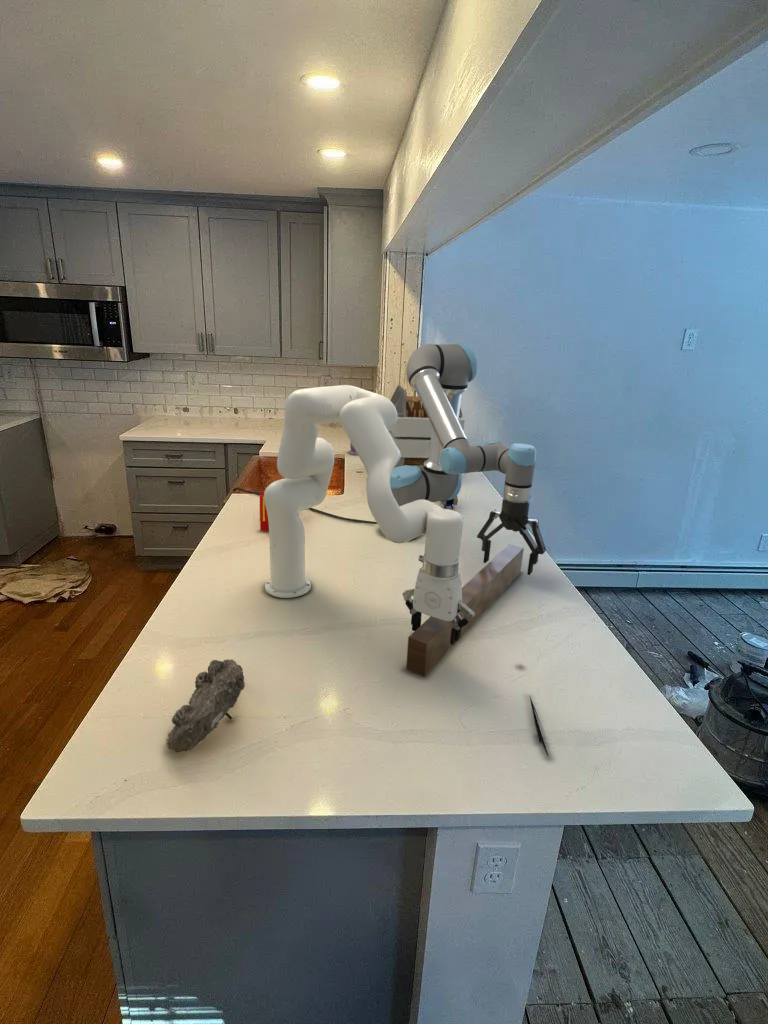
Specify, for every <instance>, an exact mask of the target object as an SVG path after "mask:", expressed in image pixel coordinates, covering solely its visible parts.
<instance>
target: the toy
mask: <svg viewBox="0 0 768 1024" xmlns="http://www.w3.org/2000/svg"><path fill="white" fill-rule="evenodd" d="M259 493H260V495H259V526H260V528H259V529H260V531H259V532H269V522H268V514H267V510H266V506H265V501H264V493H265V491H264V492H259Z"/></svg>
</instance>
